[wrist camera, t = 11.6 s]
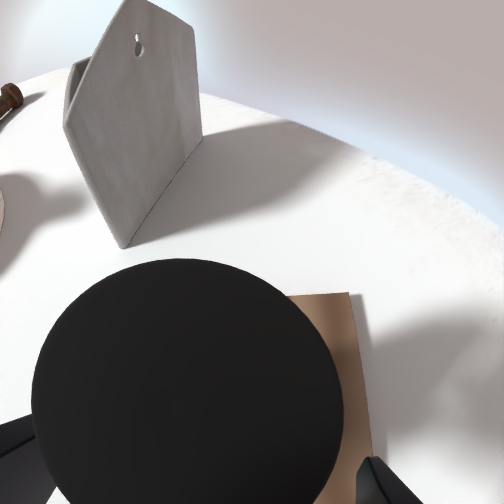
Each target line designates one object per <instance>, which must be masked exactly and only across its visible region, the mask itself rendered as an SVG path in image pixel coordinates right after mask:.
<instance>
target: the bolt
mask: <svg viewBox="0 0 504 504" xmlns="http://www.w3.org/2000/svg"><path fill="white" fill-rule="evenodd" d="M1 94H2V95H1V96H0V118H1V117H2V116H3V115H4V114H5V113H6V112H7V111H9V110H10V109H11V108H19V107H20V106H21V105H22V104H23V95H22V93H21V91H20V89H19V88H18V87H17V86H16V85H14V84H12V83H8V84H6V85H4V86H3V87H2V88H1Z"/></svg>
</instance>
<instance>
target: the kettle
mask: <svg viewBox="0 0 504 504" xmlns="http://www.w3.org/2000/svg"><path fill="white" fill-rule="evenodd" d="M3 219H4V200H3V196H2V193H1V191H0V231H1V227H2V223H3Z"/></svg>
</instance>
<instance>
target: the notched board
mask: <svg viewBox="0 0 504 504" xmlns="http://www.w3.org/2000/svg"><path fill="white" fill-rule="evenodd" d="M287 297H288V298H289V299H290V300H291V301H293V302H294V303H295V304H296V305H297V306H298V307H299V308H300V309H301V310H302V312H303V313H304V314H305V315H306V316H307V317H308V318H309V319H310V321H311V322H312V323H313V325H314V326H315V327H316V329H317V330H318V331H319V333H320V334H321V336H322V338H323V340H324V341H325V343H326V345H327V347H328V348H329V350H330V353H331V355H332V358H333V360H334V363H335V366H336V368H337V372H338V376H339V379H340V383H341V387H342V394H343V403H344V429H343V435H342V441H341V447H340V451H339V454H338V457H337V460H336V463H335V466H334V469H333V471H332V473H331V475H330V477H329V479H328V481H327V483H326V485H325V487H324V489H323V490H322V492H321V493H320V494H319V496H318V497H317V499H316V500H315V502H314V503H313V504H355V496H356V473H357V471H358V469H359V467H360V466H361V464H362V462H363V460H364V459H365V457H367V456H373V453H372V443H371V433H370V424H369V415H368V407H367V399H366V392H365V385H364V378H363V371H362V364H361V358H360V352H359V346H358V340H357V334H356V328H355V323H354V317H353V312H352V307H351V302H350V297H349V292H345V293H331V294H315V295H299V296H287Z"/></svg>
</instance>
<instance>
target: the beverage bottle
mask: <svg viewBox="0 0 504 504" xmlns="http://www.w3.org/2000/svg"><path fill="white" fill-rule="evenodd" d="M31 409H32V421H33V427H34V432H35V437H36V441H37V444H38V447H39V450H40V453H41V456H42V458H43V461H44V463H45V465H46V467H47V470H48V472H49V474H50V475H51V477H52V479H53V480H54V482H55V484H56V485H57V487H58V489H59V490H60V491H61V493H62V494H63V495H64V496H65V498H66V499H67V500H68V501H69V503H70V504H313V503H314V502H315V500H316V499H317V497H318V496H319V494H320V493H321V492H322V490H323V489H324V487H325V485H326V483H327V481H328V479H329V477H330V475H331V473H332V471H333V469H334V466H335V463H336V460H337V457H338V454H339V451H340V447H341V441H342V435H343V429H344V403H343V394H342V387H341V383H340V379H339V376H338V372H337V368H336V366H335V363H334V360H333V358H332V355H331V353H330V350H329V348H328V347H327V345H326V343H325V341H324V340H323V338H322V336H321V334H320V333H319V331H318V330H317V329H316V327H315V326H314V325H313V323H312V322H311V321H310V319H309V318H308V317H307V316H306V315H305V314H304V313H303V312H302V310H301V309H300V308H299V307H298V306H297V305H296V304H295V303H294V302H293V301H291V300H290V299H289V298H288V297H287V296H285V295H284V294H283V293H282V292H281V291H279V290H278V289H276V288H275V287H273V286H272V285H270V284H269V283H267V282H266V281H264V280H262V279H260V278H258V277H256V276H255V275H253V274H251V273H249V272H246V271H244V270H241V269H238V268H235V267H232V266H230V265H226V264H222V263H218V262H214V261H208V260H200V259H181V258H175V259H164V260H156V261H151V262H146V263H142V264H138V265H135V266H132V267H129V268H126V269H123V270H121V271H118V272H116V273H114V274H112V275H110V276H107V277H106V278H104V279H102V280H101V281H99V282H97V283H96V284H94V285H93V286H91V287H90V288H89V289H87V290H86V291H85V292H84V293H82V294H81V295H80V296H79V297H78V298H77V299H75V300H74V301H73V302H72V303H71V304H70V305H69V306H68V307H67V308H66V309H65V311H64V312H63V313H62V314H61V316H60V317H59V318H58V319H57V321H56V322H55V324H54V326H53V327H52V329H51V330H50V332H49V334H48V336H47V338H46V340H45V342H44V344H43V346H42V348H41V351H40V354H39V357H38V360H37V364H36V367H35V372H34V377H33V382H32V394H31Z"/></svg>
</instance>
